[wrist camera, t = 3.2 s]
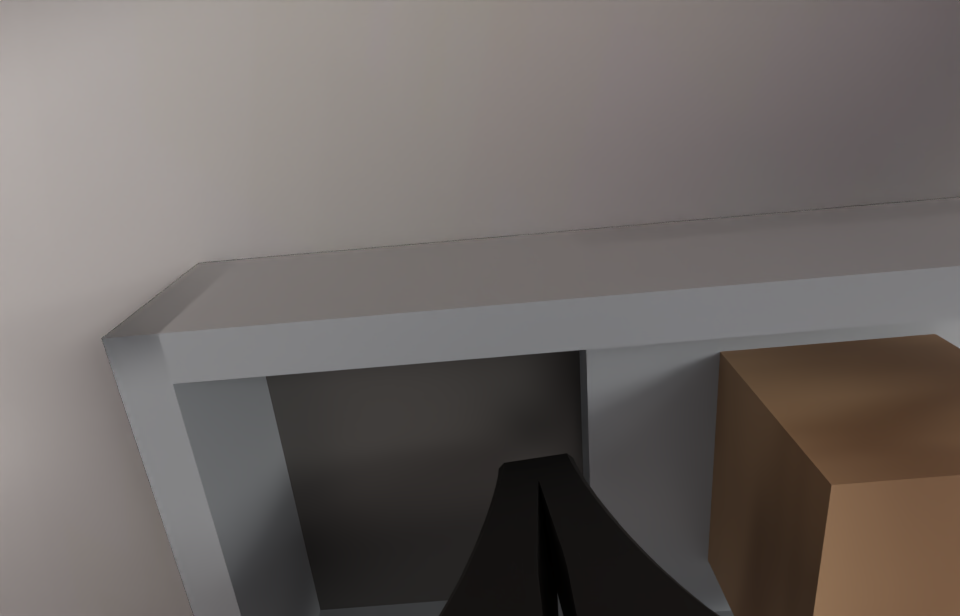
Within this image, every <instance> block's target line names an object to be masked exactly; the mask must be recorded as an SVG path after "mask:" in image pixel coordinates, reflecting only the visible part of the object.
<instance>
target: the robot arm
mask: <svg viewBox="0 0 960 616" xmlns="http://www.w3.org/2000/svg"><path fill="white" fill-rule="evenodd" d="M557 594H558V598H559V601H560V605H561V609H562V613H563V616H719V615H718V614H717V613H715V612H714V611H712V610H711V609H710V608H708V607H707V606H706V605H704V604H703V603H702V602H701V601H700V600H698V599H697V598H696V597H695V596H693V595H692V594H691V593H690V592H689V591H687V590H686V589H685V588H684V587H683V586H681V585H680V584H679V583H678V582H677V581H676V580H675V579H674V578H672V577H671V576H670V575H669V574H668V573H667V572H666V571H665V570H664V569H662V568H661V567H660V566H659V565H658V564H657V563H656V562H655V561H654V560H653V559H652V558H651V557H650V556H649V555H648V554H647V553H646V552H645V551H644V550H643V549H642V548H641V547H640V546H639V545H638V544H637V543H636V541H635V540H634V539H633V538H632V537H631V536H630V535H629V534H628V533H627V532H626V531H625V529H624V528H623V527H622V526H621V525H620V524H619V523H618V521H617V520H616V519H615V518H614V517H613V515H612V514H611V513H610V512H609V510H608V509H607V508H606V507H605V506H604V504H603V503H602V502H601V500H600V499H599V498H598V497H597V495H596V494H595V492H594V491H593V490H592V488H591V487H590V485H589V484H588V483H587V481H586V479H585V478H584V476H583V475H582V473H581V472H580V470H579V468H578V466H577V465H576V463H575V461H574V458H573V457H572V456H570V455H569V454H567V453H565V454H558V455H552V456H545V457H538V458H532V459H525V460H519V461H512V462H506V463H503V464H502V465H501V467H500V468H499V471H498V478H497V482H496V487H495V490H494V494H493V497H492V501H491V504H490V507H489V510H488V513H487V516H486V518H485V521H484V524H483V526H482V529H481V532H480V534H479V537H478V539H477V542H476V544H475V546H474V549H473V551H472V553H471V555H470V557H469V559H468V562H467V564H466V566H465V568H464V570H463V573H462V575H461V577H460V579H459V581H458V582H457V584H456V586H455V588H454V590H453V592H452V594H451V596H450V597H449V599H448V601H447V603H446V604H445V606H444V608H443V609H442V611H441V613H440V615H439V616H559V613H558V598H557Z"/></svg>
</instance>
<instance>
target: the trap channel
mask: <svg viewBox="0 0 960 616" xmlns="http://www.w3.org/2000/svg"><path fill="white" fill-rule="evenodd" d="M928 334H937V335H938V336H940V337H942V338H943V339H945V340H946V341H948V342H950V343H951V344H953V345H955V346H956V347H958V348H960V197H955V198H944V199H932V200H921V201H909V202H897V203H886V204H874V205H863V206H851V207H840V208H828V209H816V210H805V211H793V212H782V213H770V214H759V215H747V216H735V217H724V218H712V219H701V220H689V221H678V222H666V223H655V224H643V225H631V226H620V227H608V228H597V229H585V230H574V231H562V232H550V233H539V234H527V235H516V236H504V237H493V238H481V239H469V240H458V241H446V242H435V243H423V244H412V245H400V246H388V247H377V248H365V249H354V250H342V251H331V252H319V253H307V254H296V255H284V256H273V257H261V258H250V259H238V260H226V261H215V262H203V263H198V264H197V265H196V266H194V267H193V268H192V269H190V270H189V271H188V272H186V273H185V274H184V275H183V276H181V277H180V278H179V279H177V280H176V281H175V282H174V283H172V284H171V285H170V286H168V287H167V288H166V289H165V290H163V291H162V292H161V293H159V294H158V295H157V296H156V297H154V298H153V299H152V300H150V301H149V302H148V303H147V304H145V305H144V306H143V307H141V308H140V309H139V310H138V311H136V312H135V313H134V314H132V315H131V316H130V317H129V318H127V319H126V320H125V321H123V322H122V323H121V324H120V325H118V326H117V327H116V328H114V329H113V330H112V331H111V332H109V333H108V334H107V335H105V336H104V337H103V338H102V341H103V344H104V347H105V350H106V353H107V356H108V359H109V362H110V365H111V368H112V371H113V374H114V377H115V380H116V383H117V386H118V389H119V393H120V396H121V399H122V402H123V405H124V408H125V411H126V414H127V417H128V420H129V423H130V426H131V429H132V432H133V435H134V438H135V441H136V444H137V447H138V450H139V453H140V456H141V459H142V462H143V465H144V468H145V471H146V474H147V477H148V480H149V483H150V486H151V489H152V492H153V495H154V498H155V501H156V504H157V507H158V510H159V513H160V516H161V519H162V522H163V525H164V528H165V531H166V534H167V537H168V540H169V543H170V546H171V549H172V552H173V555H174V558H175V561H176V564H177V567H178V570H179V573H180V576H181V579H182V582H183V585H184V588H185V591H186V594H187V597H188V600H189V603H190V606H191V609H192V612H193V615H194V616H439V615H440V613H441V611H442V609H443V608H444V606H445V604H446V603H447V601H448V599H449V597H450V596H451V594H452V592H453V590H454V588H455V586H456V584H457V582H458V581H459V579H460V577H461V575H462V573H463V570H464V568H465V566H466V564H467V562H468V559H469V557H470V555H471V553H472V551H473V549H474V546H475V544H476V542H477V539H478V537H479V534H480V532H481V529H482V526H483V524H484V521H485V518H486V516H487V513H488V510H489V507H490V504H491V501H492V497H493V494H494V490H495V487H496V482H497V478H498V471H499V468H500V467H501V465H502V464H503V463H506V462H512V461H519V460H525V459H532V458H538V457H545V456H552V455H558V454H565V453H567V454H569V455H570V456H572V457H573V458H574V461H575V463H576V465H577V466H578V468H579V470H580V472H581V473H582V475H583V476H584V478H585V479H586V481H587V483H588V484H589V485H590V487H591V488H592V490H593V491H594V492H595V494H596V495H597V497H598V498H599V499H600V500H601V502H602V503H603V504H604V506H605V507H606V508H607V509H608V510H609V512H610V513H611V514H612V515H613V517H614V518H615V519H616V520H617V521H618V523H619V524H620V525H621V526H622V527H623V528H624V529H625V531H626V532H627V533H628V534H629V535H630V536H631V537H632V538H633V539H634V540H635V541H636V543H637V544H638V545H639V546H640V547H641V548H642V549H643V550H644V551H645V552H646V553H647V554H648V555H649V556H650V557H651V558H652V559H653V560H654V561H655V562H656V563H657V564H658V565H659V566H660V567H661V568H662V569H664V570H665V571H666V572H667V573H668V574H669V575H670V576H671V577H672V578H674V579H675V580H676V581H677V582H678V583H679V584H680V585H681V586H683V587H684V588H685V589H686V590H687V591H689V592H690V593H691V594H692V595H693V596H695V597H696V598H697V599H698V600H700V601H701V602H702V603H703V604H704V605H706V606H707V607H708V608H710V609H711V610H712V611H714V612H715V613H717V614H718V615H719V616H734V615H733V613H732V611H731V608H730V606H729V604H728V602H727V600H726V598H725V596H724V594H723V591H722V589H721V587H720V585H719V583H718V581H717V579H716V576H715V574H714V572H713V570H712V568H711V566H710V564H709V562H708V549H709V532H710V515H711V498H712V481H713V464H714V447H715V430H716V413H717V396H718V379H719V362H720V352H722V351H734V350H746V349H758V348H771V347H783V346H795V345H807V344H819V343H831V342H843V341H855V340H867V339H879V338H891V337H903V336H915V335H928ZM557 598H558V594H557ZM558 613H559V616H563V613H562V609H561V605H560V601H559V598H558Z"/></svg>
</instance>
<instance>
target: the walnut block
mask: <svg viewBox="0 0 960 616" xmlns="http://www.w3.org/2000/svg"><path fill="white" fill-rule="evenodd" d="M708 562H709V564H710V566H711V568H712V570H713V572H714V574H715V576H716V579H717V581H718V583H719V585H720V587H721V589H722V591H723V594H724V596H725V598H726V600H727V602H728V604H729V606H730V608H731V611H732V613H733V615H734V616H960V348H958V347H956V346H955V345H953V344H951V343H950V342H948V341H946V340H945V339H943V338H942V337H940V336H938V335H937V334H928V335H915V336H903V337H891V338H879V339H867V340H855V341H843V342H831V343H819V344H807V345H795V346H783V347H771V348H758V349H746V350H734V351H722V352H720V362H719V379H718V396H717V413H716V430H715V447H714V464H713V481H712V498H711V515H710V532H709V549H708Z"/></svg>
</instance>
